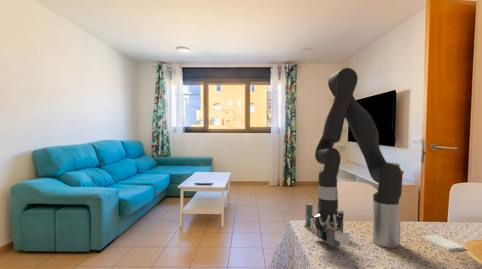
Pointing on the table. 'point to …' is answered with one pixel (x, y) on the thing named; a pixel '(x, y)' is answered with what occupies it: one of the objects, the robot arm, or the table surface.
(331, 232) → the power strip
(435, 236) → the hard drive
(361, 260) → the table surface
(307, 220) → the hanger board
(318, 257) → the table surface
